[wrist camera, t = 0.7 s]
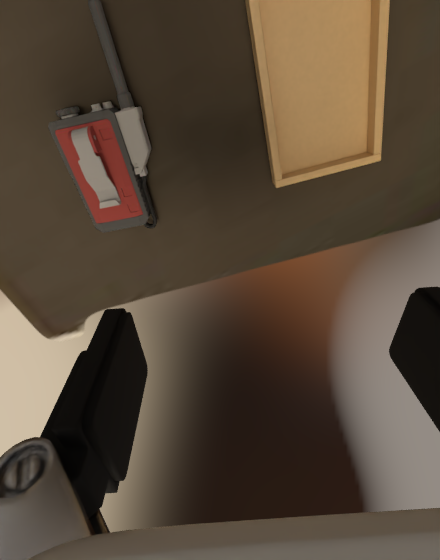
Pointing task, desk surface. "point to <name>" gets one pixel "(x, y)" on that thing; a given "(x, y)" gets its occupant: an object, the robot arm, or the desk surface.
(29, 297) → the desk surface
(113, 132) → the walkie-talkie
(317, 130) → the tray
